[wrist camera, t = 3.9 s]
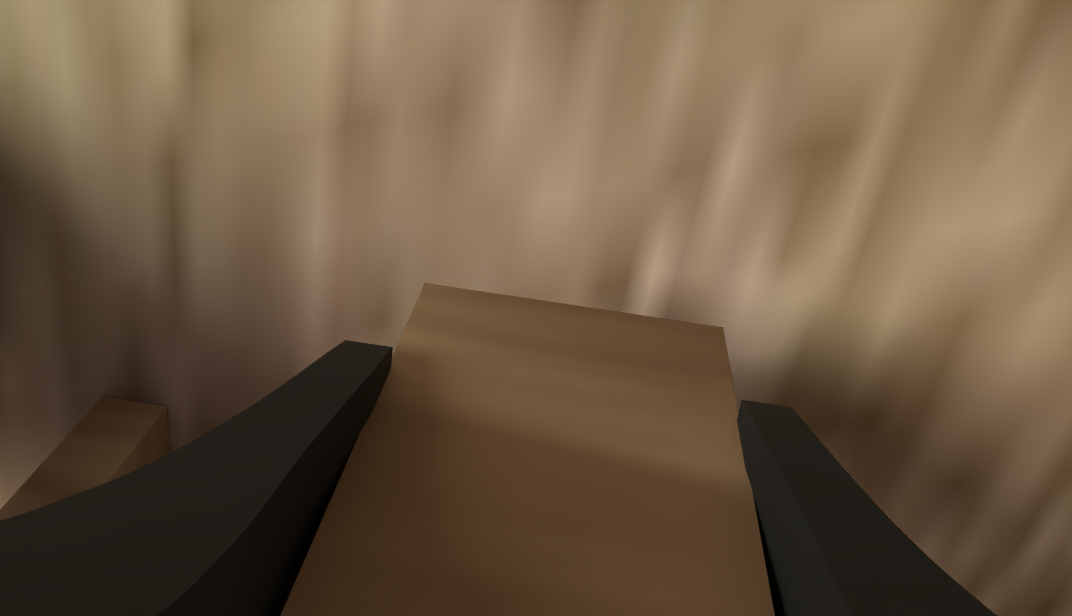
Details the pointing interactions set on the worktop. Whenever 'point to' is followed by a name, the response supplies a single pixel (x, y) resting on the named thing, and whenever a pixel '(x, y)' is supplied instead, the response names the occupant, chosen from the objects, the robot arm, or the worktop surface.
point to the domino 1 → (96, 453)
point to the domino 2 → (542, 472)
